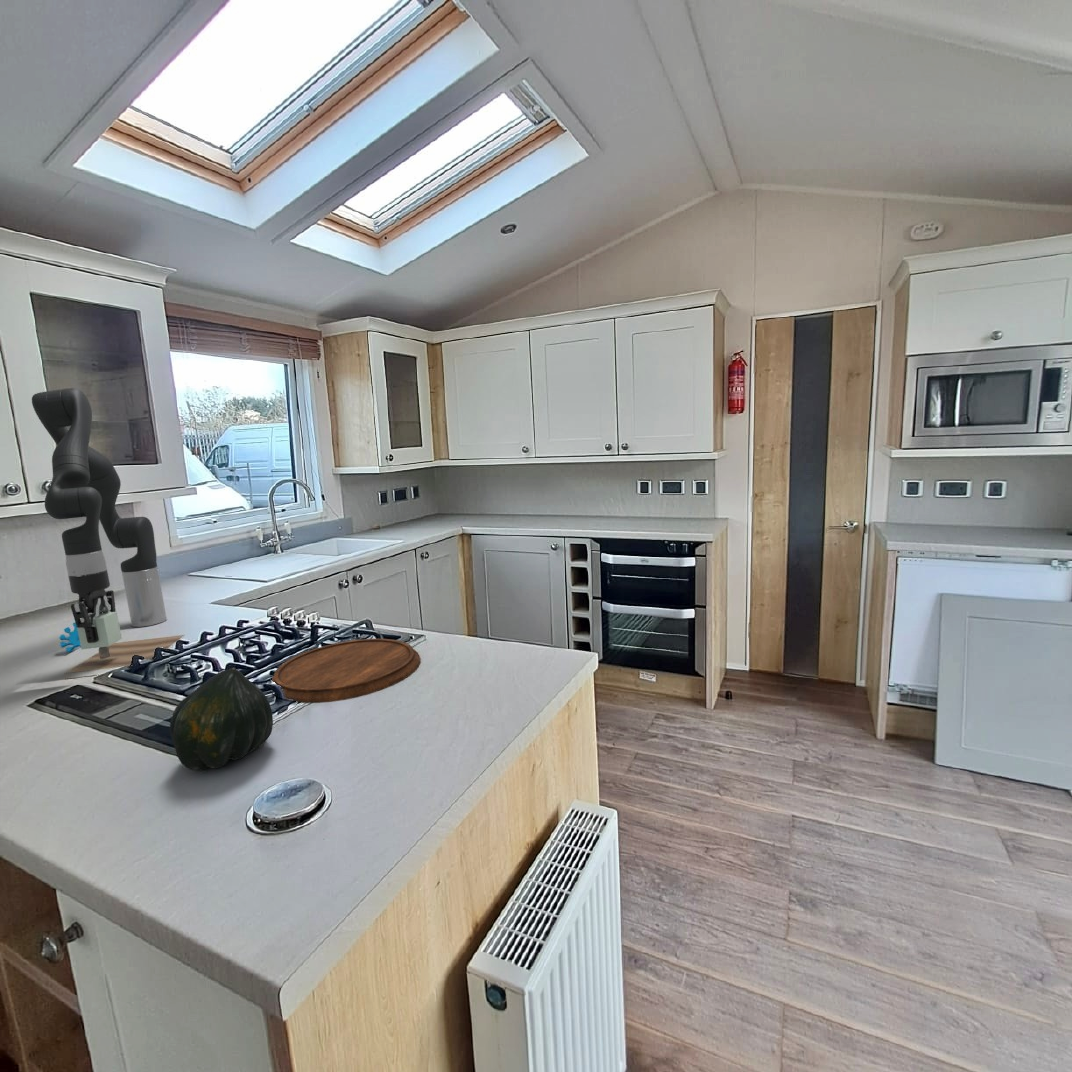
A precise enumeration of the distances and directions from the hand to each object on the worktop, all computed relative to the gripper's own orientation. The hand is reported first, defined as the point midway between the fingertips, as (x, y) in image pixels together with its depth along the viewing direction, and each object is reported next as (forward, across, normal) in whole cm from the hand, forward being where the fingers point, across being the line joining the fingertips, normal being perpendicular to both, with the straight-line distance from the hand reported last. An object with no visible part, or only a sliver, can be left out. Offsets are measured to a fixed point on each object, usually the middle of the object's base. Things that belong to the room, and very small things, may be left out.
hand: (100, 637), depth 143 cm
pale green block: (+2, 0, 0) cm, 2 cm away
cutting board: (+8, +25, +61) cm, 66 cm away
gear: (+8, -19, -14) cm, 25 cm away
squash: (+8, +57, +46) cm, 74 cm away
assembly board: (+8, -5, +3) cm, 10 cm away
